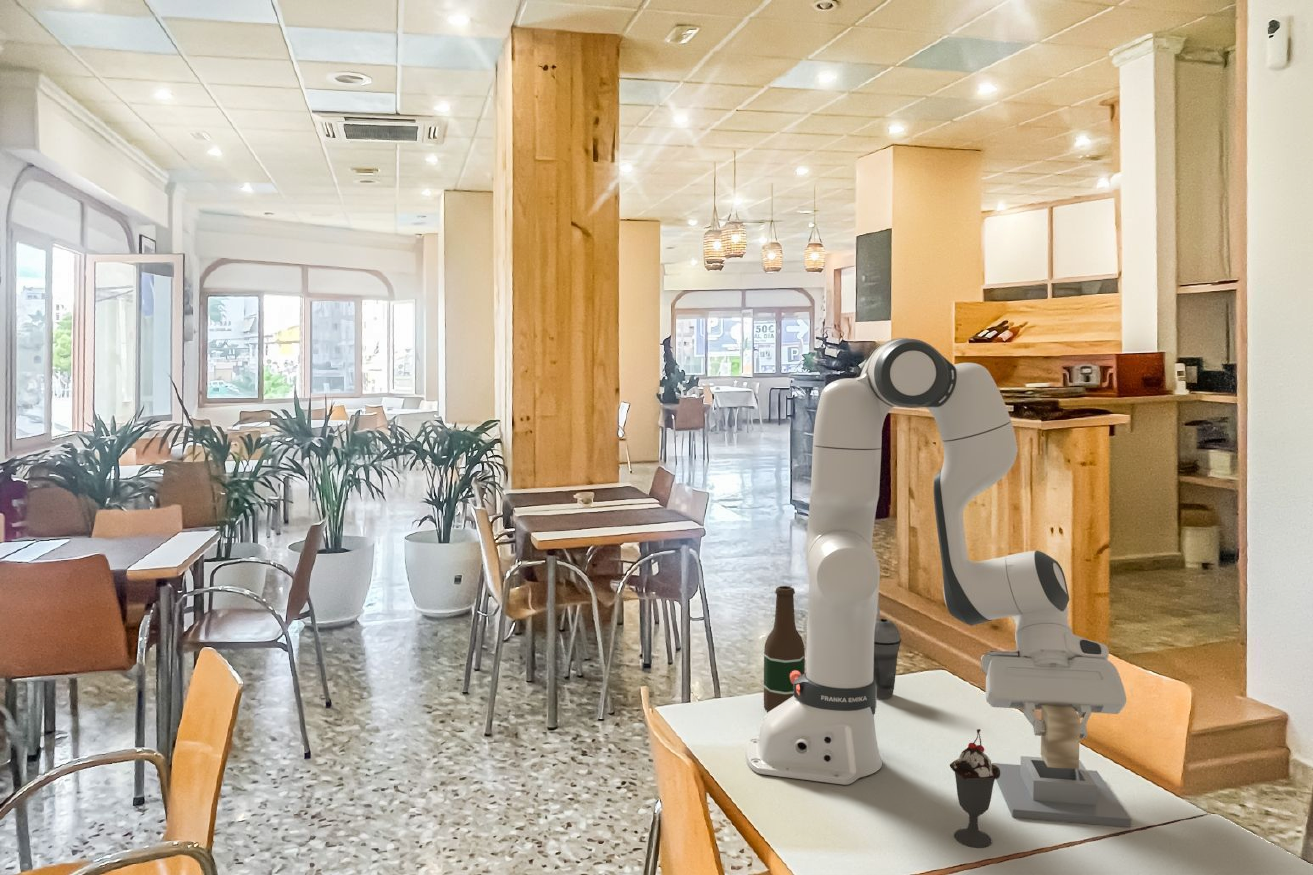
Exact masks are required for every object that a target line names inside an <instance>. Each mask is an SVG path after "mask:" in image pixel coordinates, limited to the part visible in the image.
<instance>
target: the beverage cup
mask: <svg viewBox="0 0 1313 875" xmlns="http://www.w3.org/2000/svg"><path fill="white" fill-rule="evenodd" d="M901 643H902V639H901V633H900V631H899V629H898V627H897V625H896V624H895V623H894V622H893V621H891V620H888V619H887V618H881V610H880V600H879V598H878V606H877V618H876V623H875V631H874V671H873V677H874V679H875V681H876V687H877V700H889V699H892V698H894V690H895V684H896V676H897V675H896V674H897V664H898V663H897V662H898V654H899V651H900V646H901Z"/></svg>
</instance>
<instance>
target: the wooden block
mask: <svg viewBox="0 0 1313 875" xmlns="http://www.w3.org/2000/svg"><path fill="white" fill-rule="evenodd" d="M1040 721H1045V724H1046V726H1045V727H1046V734H1045V736H1040V756H1041V757H1042V758H1043V760H1044V761H1045V763H1046V765H1047V767H1054V768H1069V769H1079V760H1080V739H1081V738H1080V723H1081V718H1080V716H1079V715H1078V712H1076V711H1075V710H1074V708H1073V707H1072V706H1054V705H1042V710H1041V718H1040Z"/></svg>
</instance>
